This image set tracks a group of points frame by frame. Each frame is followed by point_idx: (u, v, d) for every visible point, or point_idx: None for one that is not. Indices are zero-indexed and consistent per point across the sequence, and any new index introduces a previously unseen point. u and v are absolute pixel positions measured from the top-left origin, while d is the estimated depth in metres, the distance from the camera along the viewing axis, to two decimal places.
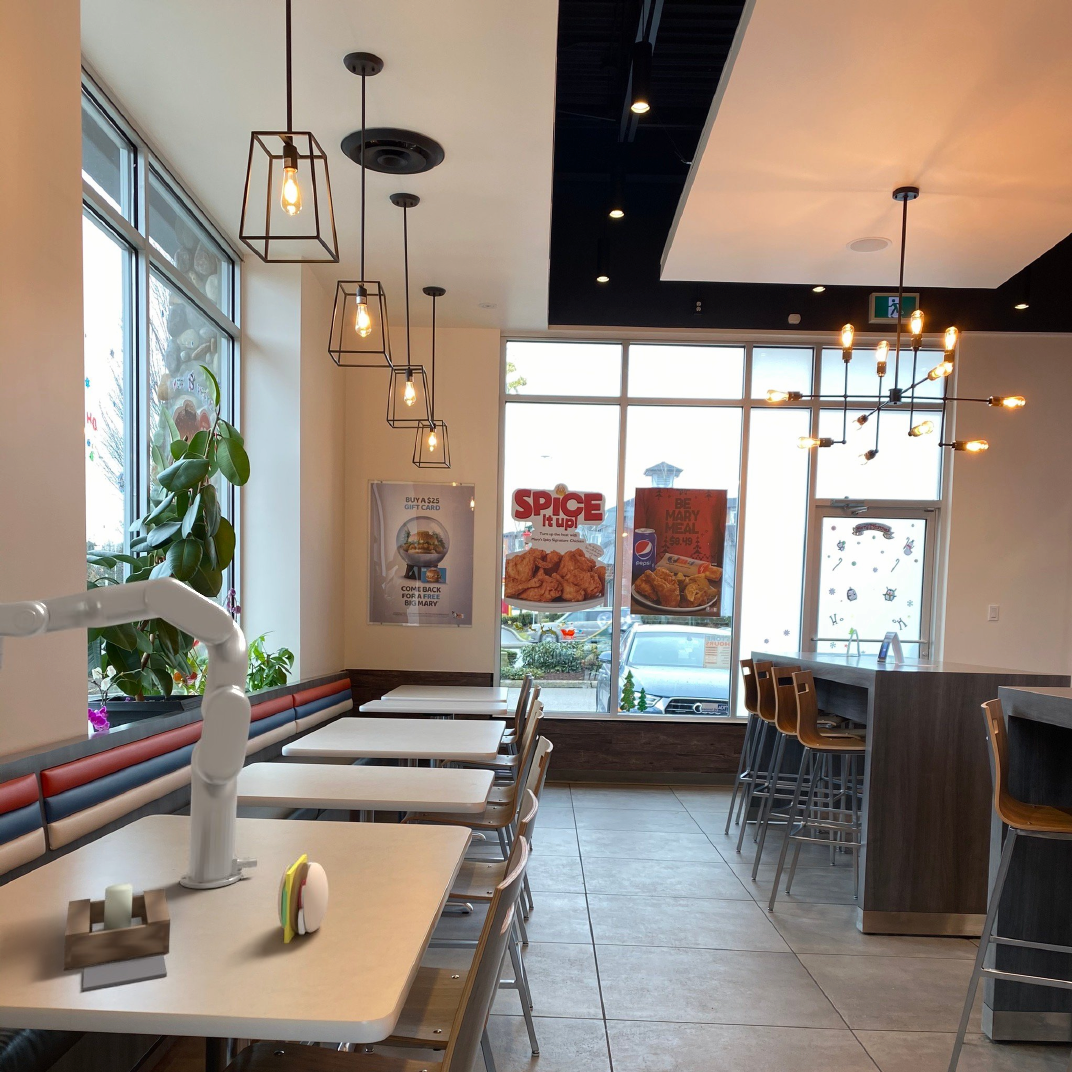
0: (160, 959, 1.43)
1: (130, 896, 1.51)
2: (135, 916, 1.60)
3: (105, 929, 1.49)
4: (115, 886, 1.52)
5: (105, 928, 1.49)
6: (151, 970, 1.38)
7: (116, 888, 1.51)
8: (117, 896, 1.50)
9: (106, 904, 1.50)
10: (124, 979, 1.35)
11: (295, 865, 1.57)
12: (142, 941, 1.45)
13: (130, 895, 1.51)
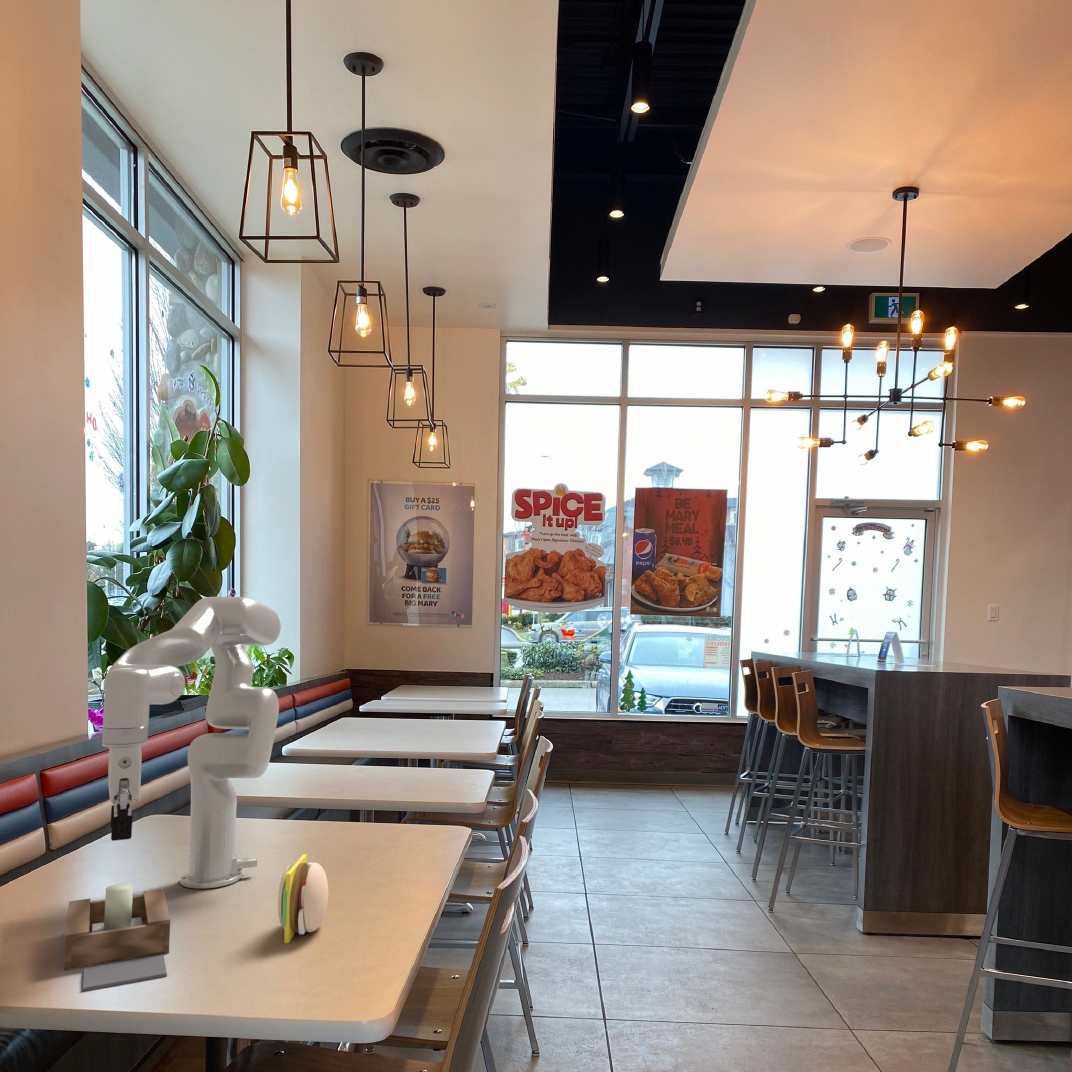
0: (160, 959, 1.43)
1: (131, 895, 1.51)
2: (135, 916, 1.60)
3: (105, 929, 1.49)
4: (116, 886, 1.52)
5: (105, 928, 1.49)
6: (151, 970, 1.38)
7: (117, 888, 1.51)
8: (118, 896, 1.50)
9: (106, 904, 1.50)
10: (124, 979, 1.35)
11: (295, 865, 1.57)
12: (142, 941, 1.45)
13: (130, 895, 1.51)
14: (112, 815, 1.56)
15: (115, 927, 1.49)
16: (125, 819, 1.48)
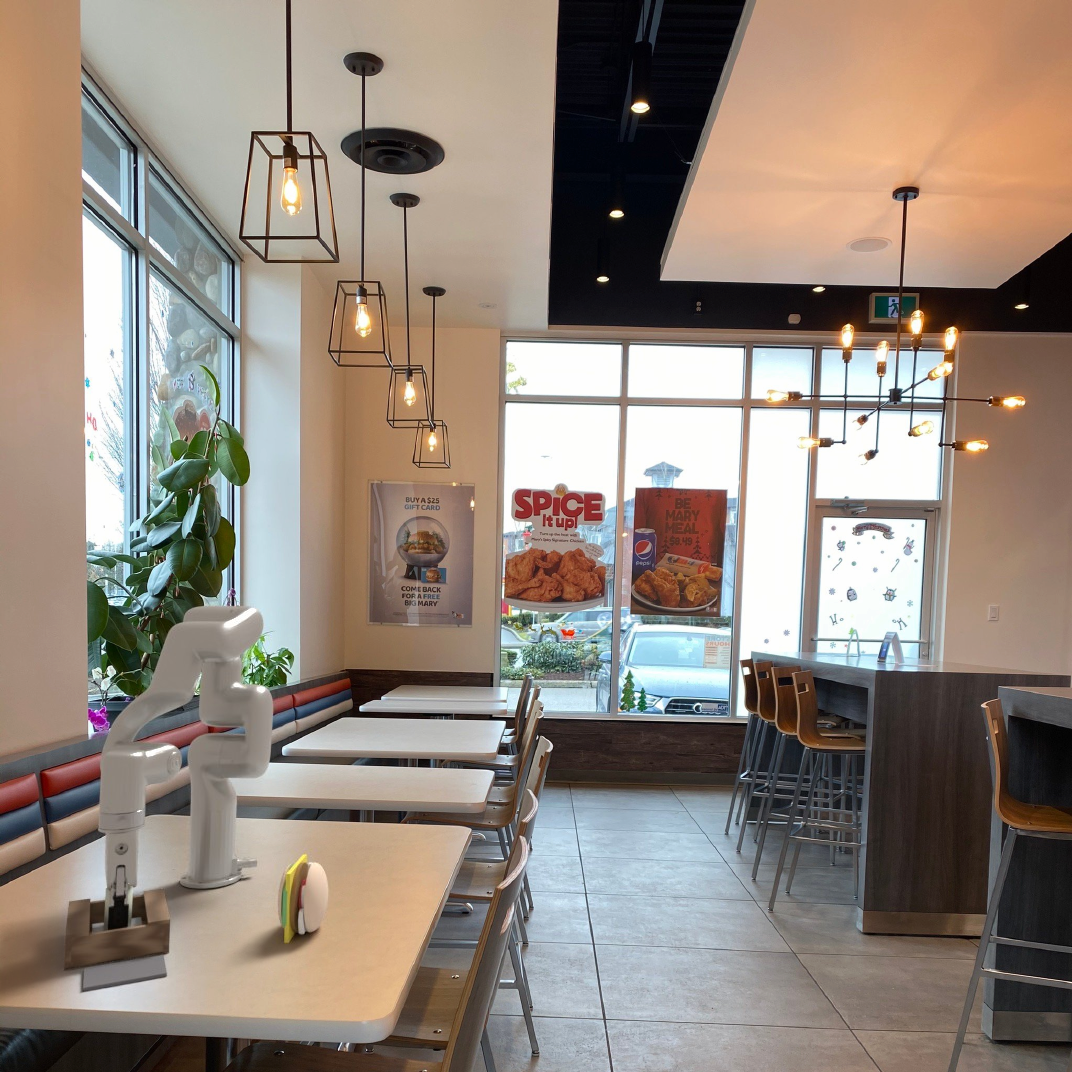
0: (160, 959, 1.43)
1: (130, 896, 1.51)
2: (135, 916, 1.60)
3: (105, 929, 1.49)
4: None
5: (105, 928, 1.49)
6: (151, 970, 1.38)
7: None
8: None
9: (106, 904, 1.50)
10: (124, 979, 1.35)
11: (295, 865, 1.57)
12: (142, 941, 1.45)
13: (130, 895, 1.51)
14: None
15: None
16: (121, 909, 1.48)
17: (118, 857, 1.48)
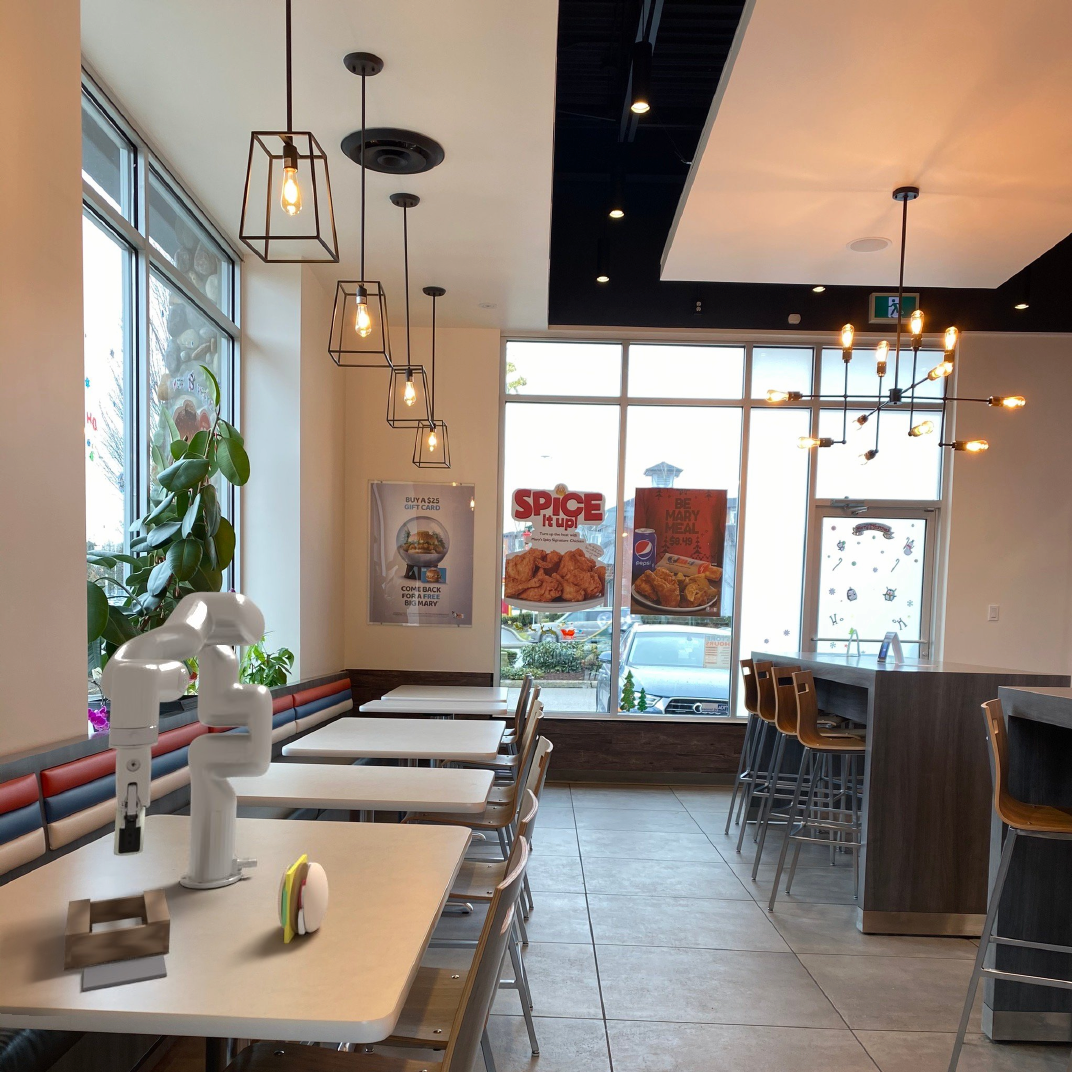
0: (160, 959, 1.43)
1: (142, 818, 1.41)
2: (135, 916, 1.60)
3: (115, 852, 1.39)
4: None
5: (115, 851, 1.39)
6: (151, 970, 1.38)
7: None
8: None
9: (116, 825, 1.39)
10: (124, 979, 1.35)
11: (295, 865, 1.57)
12: (142, 941, 1.45)
13: (142, 817, 1.41)
14: None
15: None
16: (133, 830, 1.38)
17: (130, 774, 1.37)
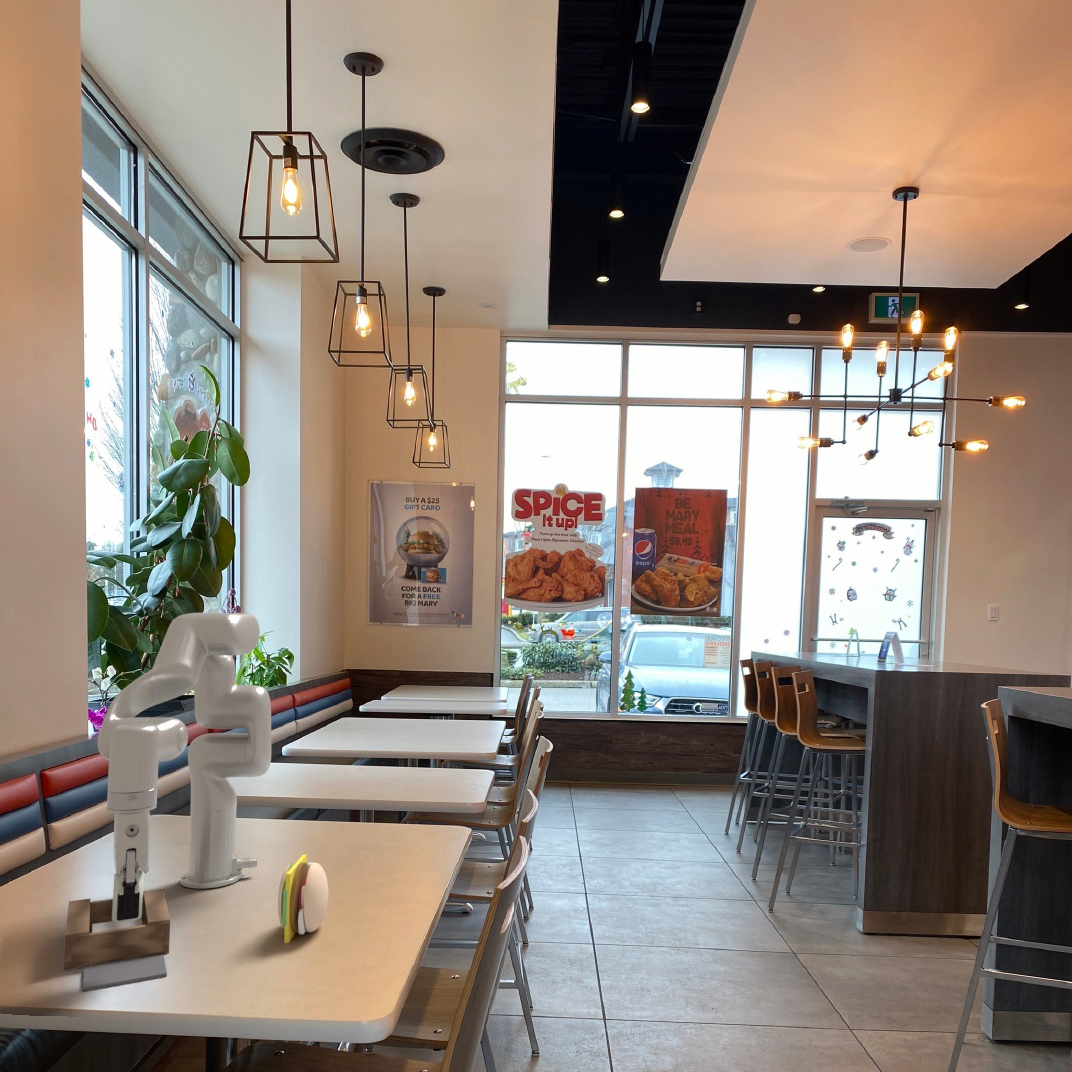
0: (160, 959, 1.43)
1: (141, 882, 1.39)
2: None
3: (113, 918, 1.37)
4: (125, 872, 1.40)
5: (113, 917, 1.37)
6: (151, 970, 1.38)
7: None
8: None
9: (115, 891, 1.37)
10: (124, 979, 1.35)
11: (295, 865, 1.57)
12: (142, 941, 1.45)
13: (141, 882, 1.39)
14: None
15: None
16: (132, 897, 1.36)
17: (128, 840, 1.35)
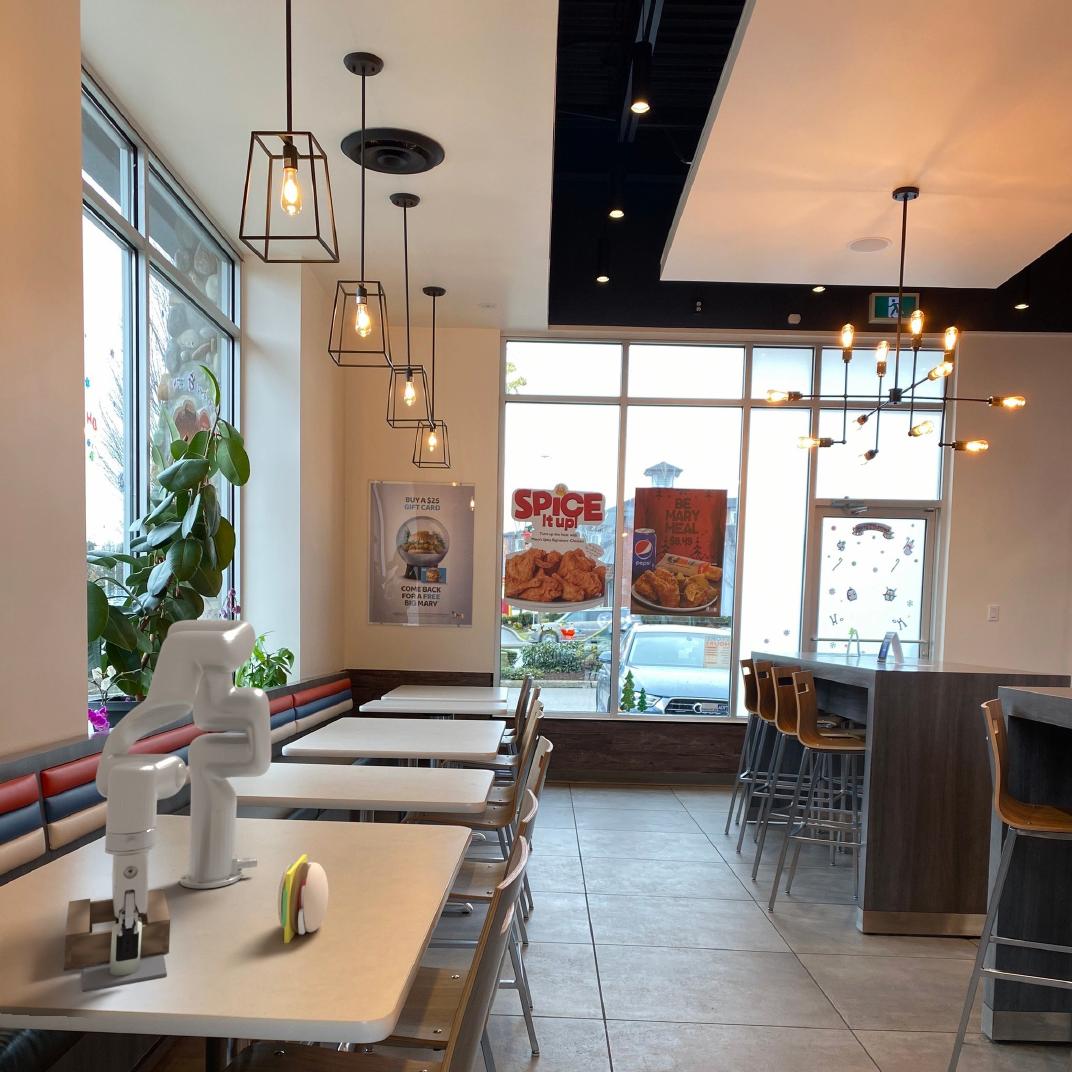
0: (160, 959, 1.43)
1: (139, 935, 1.39)
2: None
3: (111, 971, 1.37)
4: None
5: (111, 970, 1.37)
6: (151, 970, 1.38)
7: None
8: None
9: (112, 944, 1.37)
10: (124, 979, 1.35)
11: (295, 865, 1.57)
12: (142, 941, 1.45)
13: (139, 934, 1.38)
14: None
15: (121, 970, 1.36)
16: (131, 937, 1.34)
17: (127, 881, 1.35)
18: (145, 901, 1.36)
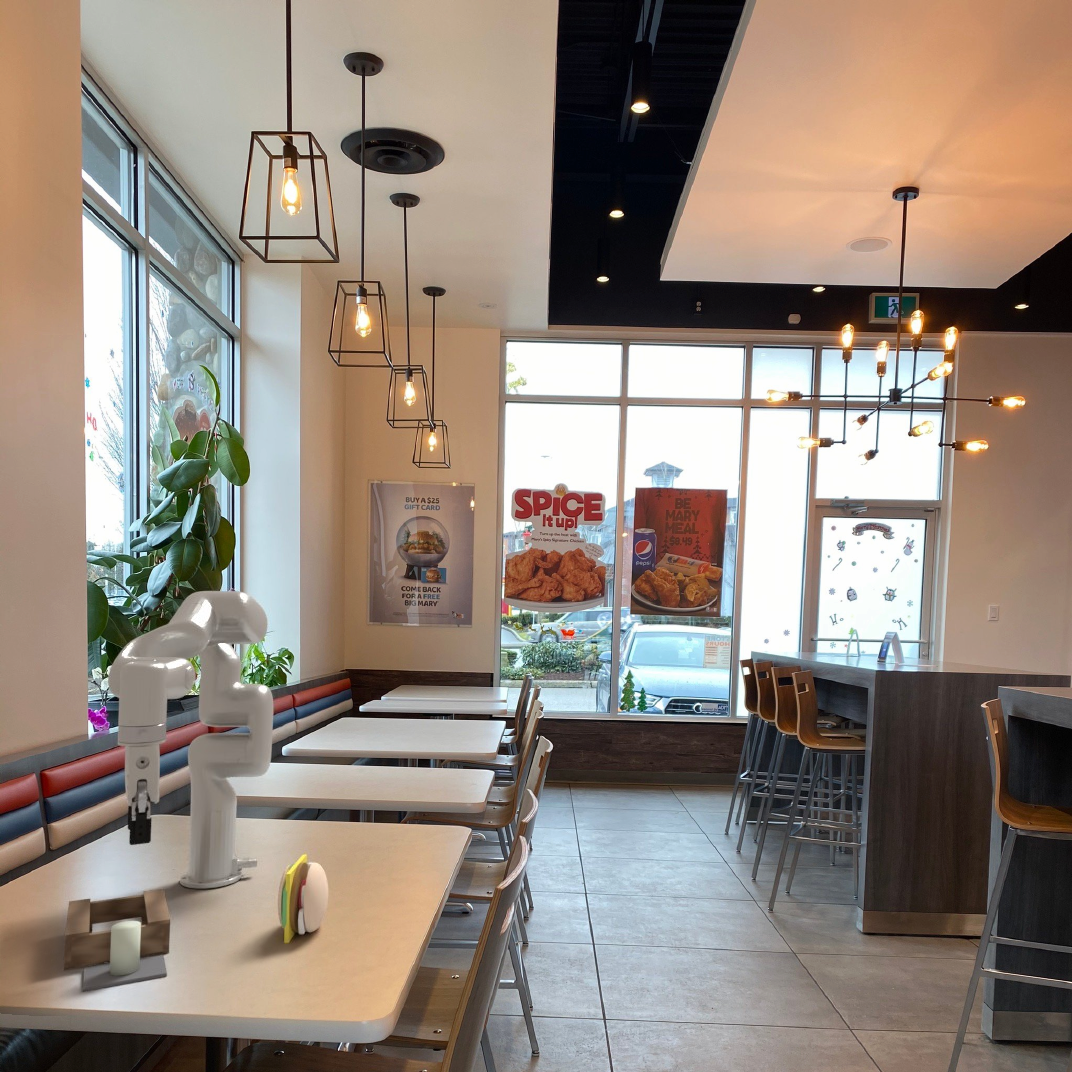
0: (160, 959, 1.43)
1: (138, 935, 1.38)
2: (135, 916, 1.60)
3: (110, 971, 1.37)
4: (122, 924, 1.40)
5: (110, 970, 1.37)
6: (151, 970, 1.38)
7: (123, 927, 1.38)
8: (123, 935, 1.37)
9: (111, 944, 1.37)
10: (124, 979, 1.35)
11: (295, 865, 1.57)
12: (142, 941, 1.45)
13: (137, 934, 1.38)
14: (129, 816, 1.47)
15: (121, 970, 1.36)
16: (144, 822, 1.39)
17: (139, 771, 1.40)
18: (157, 791, 1.41)
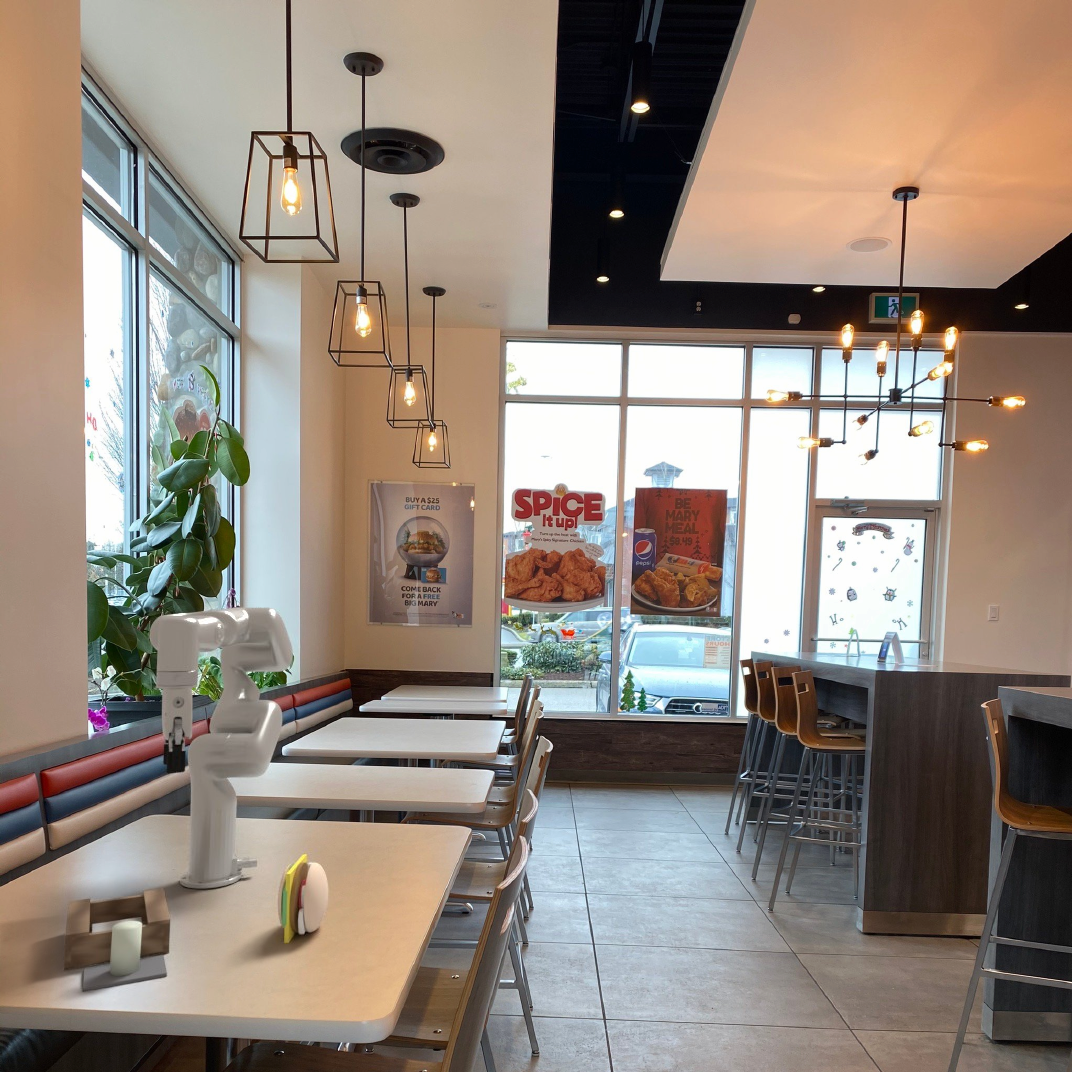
0: (160, 959, 1.43)
1: (138, 936, 1.38)
2: (135, 916, 1.60)
3: (110, 971, 1.37)
4: (124, 923, 1.40)
5: (110, 970, 1.37)
6: (151, 970, 1.38)
7: (124, 927, 1.38)
8: (123, 936, 1.37)
9: (112, 944, 1.37)
10: (124, 979, 1.35)
11: (295, 865, 1.57)
12: (142, 941, 1.45)
13: (138, 935, 1.38)
14: (165, 753, 1.69)
15: (120, 970, 1.36)
16: (179, 754, 1.61)
17: (175, 710, 1.62)
18: (190, 727, 1.63)
